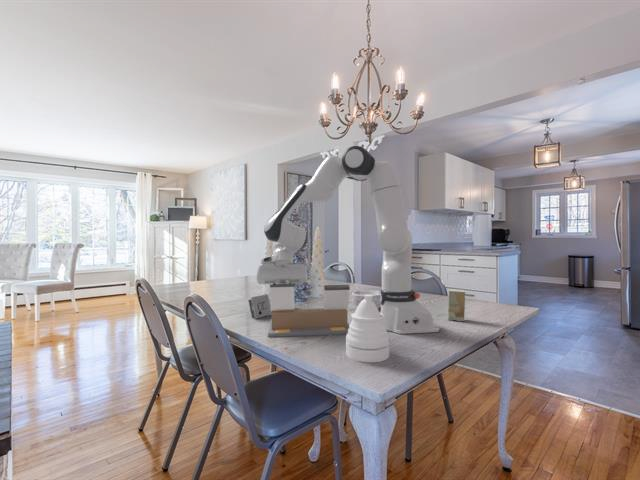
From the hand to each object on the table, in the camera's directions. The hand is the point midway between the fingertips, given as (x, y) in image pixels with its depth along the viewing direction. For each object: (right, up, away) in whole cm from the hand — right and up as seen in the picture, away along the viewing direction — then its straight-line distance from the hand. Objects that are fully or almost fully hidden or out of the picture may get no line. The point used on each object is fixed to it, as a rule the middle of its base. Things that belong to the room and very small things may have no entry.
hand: (282, 291), depth 127 cm
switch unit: (+11, -14, -3) cm, 18 cm away
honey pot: (+29, -15, -28) cm, 43 cm away
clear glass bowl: (+37, -13, +29) cm, 49 cm away
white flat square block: (+20, -7, -2) cm, 22 cm away
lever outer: (+1, -7, -4) cm, 8 cm away
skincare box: (+71, -13, +9) cm, 72 cm away
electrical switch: (-12, -14, +18) cm, 26 cm away
